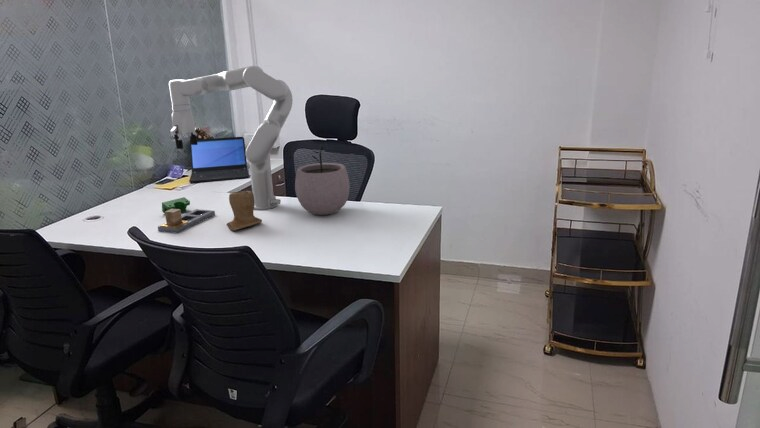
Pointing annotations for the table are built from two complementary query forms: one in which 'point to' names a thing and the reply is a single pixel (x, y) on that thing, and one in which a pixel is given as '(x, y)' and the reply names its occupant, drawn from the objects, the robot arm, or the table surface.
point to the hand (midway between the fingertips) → (187, 146)
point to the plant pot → (322, 187)
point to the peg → (173, 217)
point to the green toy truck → (175, 204)
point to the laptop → (218, 159)
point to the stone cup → (242, 210)
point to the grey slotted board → (190, 216)
